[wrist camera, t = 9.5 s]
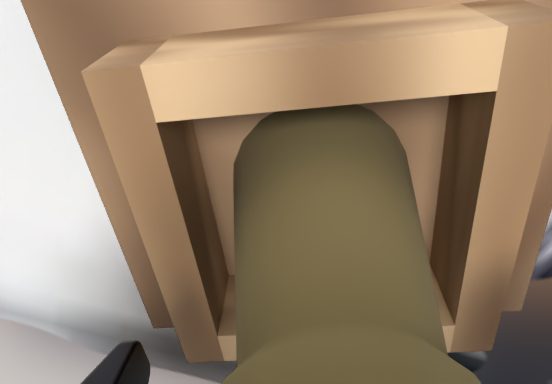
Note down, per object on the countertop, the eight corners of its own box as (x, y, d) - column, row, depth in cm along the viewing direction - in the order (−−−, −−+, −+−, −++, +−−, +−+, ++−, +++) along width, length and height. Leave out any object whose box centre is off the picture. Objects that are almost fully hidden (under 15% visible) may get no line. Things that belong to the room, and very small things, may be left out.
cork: (340, 270, 17) (401, 706, 7) (203, 204, 15) (62, 649, 6) (447, 156, 14) (771, 638, 4) (291, 60, 12) (291, 489, 3)
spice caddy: (160, 307, 20) (132, 390, 16) (39, -15, 12) (-62, 9, 9) (508, 289, 18) (559, 376, 15) (608, -87, 11) (757, -93, 7)
